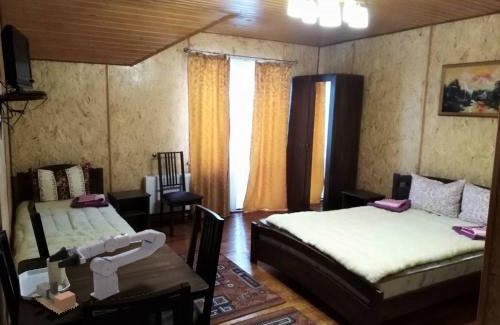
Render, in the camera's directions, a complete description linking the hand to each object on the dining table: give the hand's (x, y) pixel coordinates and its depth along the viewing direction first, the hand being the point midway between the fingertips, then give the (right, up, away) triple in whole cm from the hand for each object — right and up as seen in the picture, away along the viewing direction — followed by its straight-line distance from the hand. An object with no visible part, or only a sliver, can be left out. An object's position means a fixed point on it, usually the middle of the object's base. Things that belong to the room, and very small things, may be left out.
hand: (53, 262), depth 147 cm
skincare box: (-14, -17, +30) cm, 37 cm away
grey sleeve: (-11, -19, +15) cm, 26 cm away
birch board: (-5, -19, +11) cm, 23 cm away
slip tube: (-7, -17, +12) cm, 22 cm away
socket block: (+2, -20, +6) cm, 21 cm away
